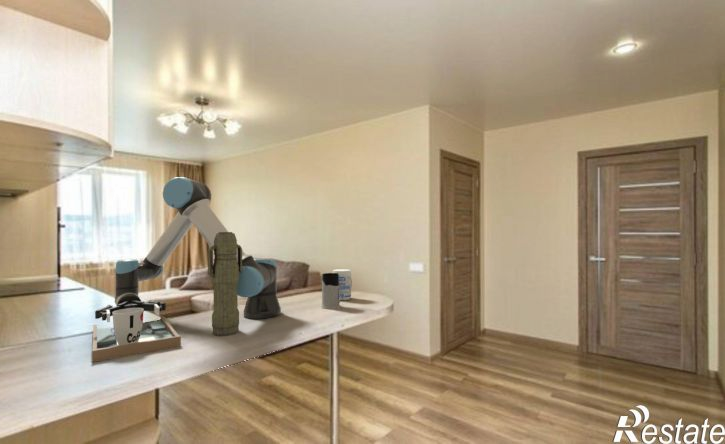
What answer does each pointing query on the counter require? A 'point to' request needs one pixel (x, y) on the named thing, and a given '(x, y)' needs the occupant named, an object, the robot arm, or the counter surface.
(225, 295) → the thermos
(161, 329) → the wooden tray
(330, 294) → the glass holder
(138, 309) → the cup
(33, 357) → the counter surface
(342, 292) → the supplement tub
